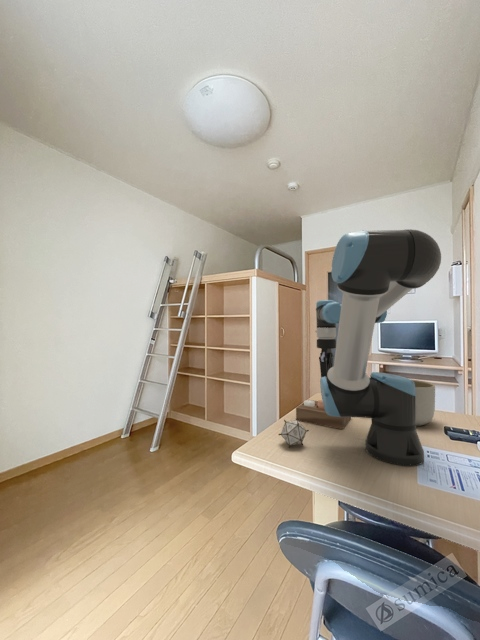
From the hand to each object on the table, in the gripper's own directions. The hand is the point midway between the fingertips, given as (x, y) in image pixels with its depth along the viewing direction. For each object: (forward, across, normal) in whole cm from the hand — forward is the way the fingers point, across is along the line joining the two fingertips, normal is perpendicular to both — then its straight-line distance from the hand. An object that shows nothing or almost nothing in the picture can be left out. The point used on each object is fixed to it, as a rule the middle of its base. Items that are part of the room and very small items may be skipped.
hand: (327, 397), depth 110 cm
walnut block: (+9, 0, -2) cm, 9 cm away
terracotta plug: (+8, 0, -1) cm, 8 cm away
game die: (+10, +29, -3) cm, 30 cm away
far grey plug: (+8, 0, -7) cm, 11 cm away
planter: (+9, -16, +28) cm, 33 cm away
